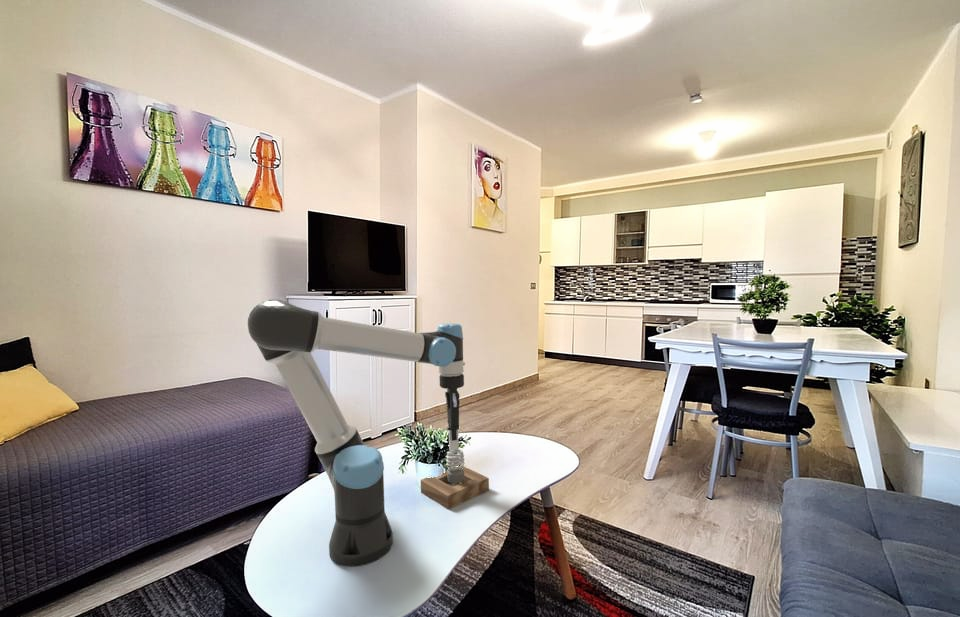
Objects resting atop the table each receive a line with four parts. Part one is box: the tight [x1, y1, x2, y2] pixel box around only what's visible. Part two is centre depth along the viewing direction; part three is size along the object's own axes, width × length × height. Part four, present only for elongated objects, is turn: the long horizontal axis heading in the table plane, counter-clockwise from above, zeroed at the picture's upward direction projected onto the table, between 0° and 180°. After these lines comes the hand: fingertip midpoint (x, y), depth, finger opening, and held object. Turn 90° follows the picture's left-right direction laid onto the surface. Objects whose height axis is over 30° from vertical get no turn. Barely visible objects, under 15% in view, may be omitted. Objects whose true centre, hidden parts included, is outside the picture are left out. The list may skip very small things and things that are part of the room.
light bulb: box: [445, 449, 465, 487], centre depth 130 cm, size 6×6×12 cm
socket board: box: [420, 465, 490, 510], centre depth 130 cm, size 16×14×4 cm
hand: (453, 449), depth 129 cm, fingers closed
